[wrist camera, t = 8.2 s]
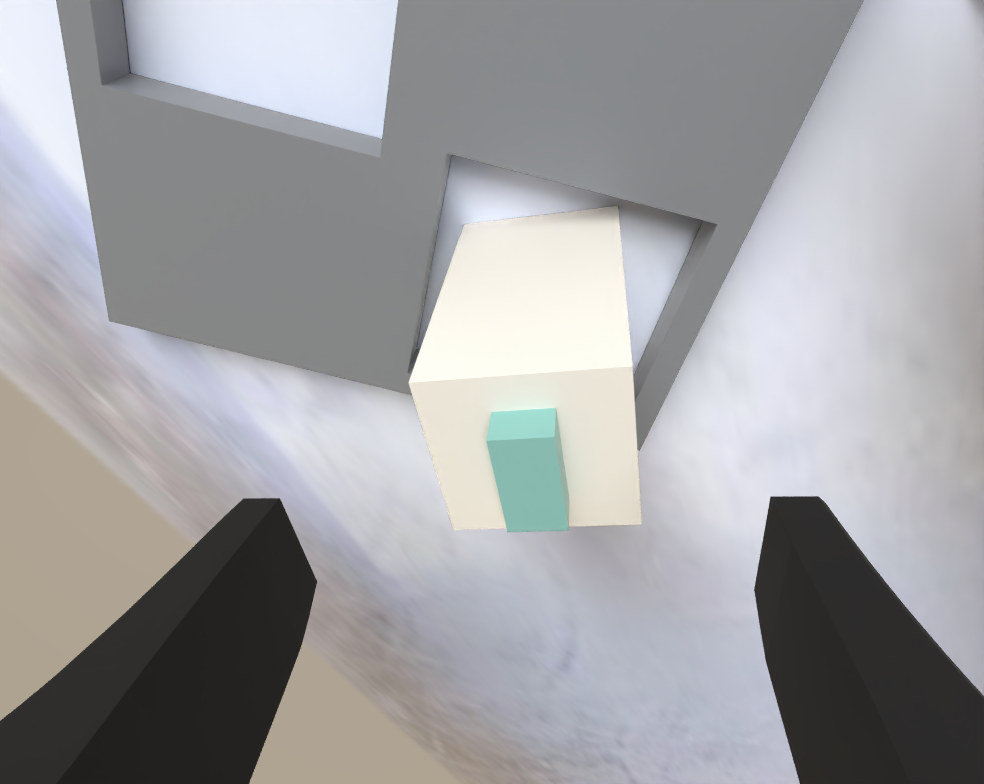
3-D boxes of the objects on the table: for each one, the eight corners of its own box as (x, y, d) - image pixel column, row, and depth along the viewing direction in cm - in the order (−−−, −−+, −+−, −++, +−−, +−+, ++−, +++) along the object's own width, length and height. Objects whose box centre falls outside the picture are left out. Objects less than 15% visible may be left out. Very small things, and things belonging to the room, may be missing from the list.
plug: (617, 205, 17) (635, 395, 11) (626, 338, 19) (644, 555, 13) (463, 224, 18) (398, 410, 12) (490, 349, 20) (447, 559, 14)
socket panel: (899, -124, 12) (924, -123, 12) (637, 425, 21) (639, 450, 20) (38, -373, 12) (-10, -395, 11) (131, 300, 20) (109, 320, 19)
